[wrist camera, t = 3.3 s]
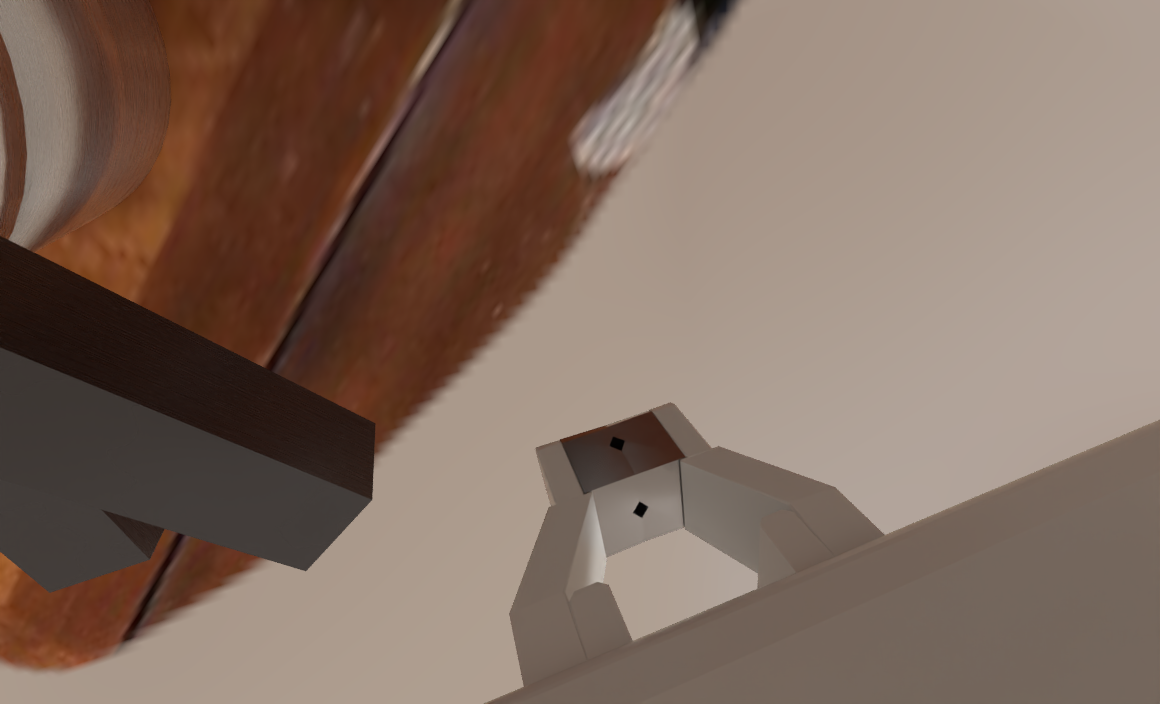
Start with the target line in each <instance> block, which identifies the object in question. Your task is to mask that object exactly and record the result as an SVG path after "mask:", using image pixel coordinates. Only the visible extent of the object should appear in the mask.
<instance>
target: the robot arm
mask: <svg viewBox="0 0 1160 704" xmlns="http://www.w3.org/2000/svg"><path fill="white" fill-rule="evenodd" d="M536 454H537V458H538V462H539V465H540V469H541V472H542V476H543V480H544V484H545V487H546V491H547V494H548V498H549V501H550V504H551V507H549V508H548V511H547V514H546V516H545V519H544V522H543V524H542V527H541V530H540V532H539V535H538V538H537V540H536V543H535V546H534V549H533V551H532V554H531V557H530V560H529V562H528V565H527V567H526V570H525V573H524V576H523V578H522V581H521V584H520V586H519V589H518V592H517V594H516V597H515V600H514V603H513V605H512V608H511V611H510V613H509V615H510V620H511V625H512V630H513V635H514V640H515V645H516V650H517V654H518V660H519V665H520V669H521V675H522V680H523V684H524V687H522V688H520V689H518V690H515V691H513V692H511V693H508V694H506V695H503V696H501V697H499V698H496V699H494V700H491V701H489V702H487V703H484V704H1160V420H1158V421H1155V422H1153V423H1151V424H1148V425H1146V426H1143V427H1141V428H1139V429H1137V430H1134V431H1132V432H1129V433H1127V434H1124V435H1122V436H1120V437H1117V438H1115V439H1113V440H1110V441H1108V442H1105V443H1103V444H1101V445H1099V446H1096V447H1094V448H1091V449H1089V450H1086V451H1084V452H1082V453H1079V454H1077V455H1074V456H1072V457H1070V458H1067V459H1065V460H1063V461H1060V462H1058V463H1055V464H1053V465H1051V466H1048V467H1046V468H1043V469H1041V470H1039V471H1036V472H1034V473H1032V474H1029V475H1027V476H1025V477H1022V478H1020V479H1017V480H1015V481H1013V482H1010V483H1008V484H1006V485H1003V486H1001V487H998V488H996V489H994V490H991V491H989V492H986V493H984V494H982V495H979V496H977V497H974V498H972V499H970V500H967V501H965V502H962V503H960V504H958V505H955V506H953V507H951V508H948V509H946V510H943V511H941V512H939V513H937V514H934V515H932V516H929V517H927V518H925V519H922V520H920V521H917V522H915V523H912V524H910V525H908V526H906V527H903V528H901V529H898V530H896V531H893V532H891V533H889V534H887V535H884V534H883V533H882V532H881V531H880V530H879V529H878V528H877V527H876V526H875V525H874V524H873V523H872V522H871V521H870V520H869V519H868V518H867V517H865V516H864V515H863V514H862V513H861V512H860V511H859V510H858V509H857V508H856V507H855V506H854V505H853V504H852V503H851V502H850V501H849V500H848V499H847V498H846V497H845V496H843V494H841V493H840V492H839V491H838V490H837V489H836V488H835V487H833V486H830V485H827V484H824V483H822V482H819V481H816V480H813V479H810V478H807V477H804V476H801V475H799V474H796V473H793V472H790V471H787V470H784V469H782V468H779V467H776V466H773V465H770V464H768V463H765V462H762V461H759V460H756V459H753V458H751V457H748V456H745V455H742V454H739V453H736V452H733V451H731V450H728V449H725V448H722V447H719V446H718V447H715V448H711V447H710V445H709V444H708V443H707V442H706V441H705V440H704V438H703V437H702V436H701V435H700V434H699V432H698V431H697V430H696V429H695V428H694V427H693V425H692V424H691V423H690V422H689V420H688V419H687V418H686V417H685V416H684V415H683V413H682V412H681V411H680V410H679V409H678V407H677V406H676V405H675V404H673V403H668V404H664V405H662V406H659V407H656V408H653V409H651V410H649V411H646V412H643V413H641V414H638V415H635V416H632V417H629V418H626V419H623V420H620V421H617V422H614V423H612V424H608V425H606V426H603V427H599V428H596V429H593V430H589V431H586V432H583V433H580V434H577V435H573V436H570V437H567V438H564V439H560V441H556V442H552V443H549V444H546V445H543V446H540V447H536ZM684 527H685V530H687V531H689V532H690V533H692V534H694V535H695V536H697V537H699V538H700V539H702V540H704V541H705V542H707V543H709V544H710V545H712V546H714V547H715V548H717V549H718V550H720V551H722V552H723V553H725V554H727V555H728V556H730V557H732V558H733V559H735V560H737V561H738V562H740V563H742V564H744V565H745V566H747V567H748V568H750V569H752V570H753V571H755V572H757V573H758V589H756V590H754V591H751V592H749V593H746V594H745V595H742V596H740V597H737V598H734V599H732V600H730V601H727V602H725V603H723V604H720V605H718V606H715V607H713V608H711V609H708V610H706V611H703V612H701V613H699V614H697V615H694V616H692V617H689V618H687V619H684V620H682V621H680V622H677V623H675V624H672V625H670V626H668V627H665V628H663V629H661V630H658V631H656V632H653V633H651V634H649V635H646V636H644V637H642V638H639V639H637V640H635V641H632V638H631V636H630V634H629V632H628V629H627V627H626V624H625V622H624V620H623V617H622V615H621V613H620V610H619V608H618V606H617V603H616V601H615V598H614V596H613V594H612V591H611V589H610V587H609V585H607V584H603V580H604V574H605V568H606V562H607V559H606V557H609V556H611V555H614V554H616V553H618V552H621V551H623V550H626V549H628V548H630V547H633V546H635V545H638V544H640V543H642V542H645V541H647V540H650V539H653V538H656V537H659V536H662V535H665V534H667V533H670V532H673V531H675V530H679V529H682V528H684Z"/></svg>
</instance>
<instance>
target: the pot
mask: <svg viewBox="0 0 1160 704" xmlns="http://www.w3.org/2000/svg"><path fill="white" fill-rule="evenodd" d="M0 33H1V35H2V38H3V40H4V43H5V46H6V48H7V51H8V53H9V56H10V58H11V62H12V66H13V70H14V74H15V78H16V82H17V86H18V90H19V94H20V98H21V102H22V106H23V113H24V124H25V135H26V146H27V163H26V174H25V186H24V196H23V199H22V202H21V206H20V209H19V213H18V216H17V220H16V223H15V226H14V230H13V232H12V234H11V236H10V238H9V240H10V241H12V242H14V243H16V244H18V245H20V246H22V247H24V248H26V249H28V250H30V251H32V252H36V251H38V250H40V249H42V248H43V247H45V246H47V245H49V244H51V243H52V242H54V241H56V240H58V239H60V238H62V237H63V236H65V235H67V234H69V233H71V232H72V231H74V230H76V229H78V228H80V227H81V226H83V225H85V224H87V223H89V222H90V221H92V220H94V219H96V218H98V217H99V216H101V215H103V214H104V213H106V212H107V211H109V210H110V209H112V208H114V207H115V206H117V205H118V204H120V203H121V202H122V201H123V200H124V199H125V198H127V197H128V196H129V195H130V194H131V193H132V192H133V191H134V190H135V189H136V188H137V187H138V186H139V185H140V183H141V182H142V181H143V180H144V178H145V177H146V176H147V174H148V173H149V172H150V170H151V169H152V167H153V165H154V163H155V161H156V159H157V157H158V155H159V153H160V151H161V148H162V145H163V142H164V138H165V135H166V131H167V128H168V122H169V113H170V105H171V93H170V73H169V67H168V62H167V56H166V51H165V45H164V42H163V39H162V36H161V33H160V29H159V26H158V23H157V20H156V16H155V14H154V12H153V9H152V7H151V5H150V2H149V0H0ZM163 531H164V528H161V527H158V526H154V525H151V524H148V523H144V522H141V521H138V520H134V519H131V518H128V517H124V516H121V515H118V514H114V513H111V512H108V511H104V510H101V509H98V508H94V507H91V506H88V505H84V504H81V503H78V502H74V501H71V500H68V499H64V498H61V497H58V496H54V495H51V494H48V493H44V492H41V491H38V490H34V489H31V488H28V487H25V486H21V485H18V484H15V483H11V482H8V481H5V480H1V479H0V552H1V553H3V554H4V555H5V556H6V557H7V558H9V559H10V560H11V561H12V562H13V563H15V564H16V565H17V566H18V567H19V568H21V569H22V570H23V571H24V572H25V573H27V574H28V575H29V576H30V577H31V578H33V579H34V580H35V581H36V582H37V583H39V584H40V585H41V586H42V587H43V588H45V589H46V590H47V591H48V592H53V591H56V590H59V589H62V588H65V587H68V586H71V585H74V584H77V583H80V582H83V581H86V580H89V579H92V578H95V577H98V576H101V575H104V574H107V573H110V572H114V571H117V570H120V569H123V568H126V567H129V566H132V565H135V564H138V563H141V562H144V561H147V560H150V558H151V556H152V554H153V552H154V550H155V547H156V545H157V543H158V541H159V539H160V537H161V535H162V533H163Z"/></svg>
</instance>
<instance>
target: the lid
mask: <svg viewBox="0 0 1160 704" xmlns="http://www.w3.org/2000/svg"><path fill="white" fill-rule="evenodd" d="M26 163H27V146H26V135H25V124H24V113H23V106H22V102H21V98H20V94H19V90H18V86H17V82H16V78H15V74H14V70H13V66H12V62H11V58H10V56H9V53H8V51H7V48H6V46H5V43H4V40H3V38H2V35H1V33H0V479H1V480H5V481H8V482H11V483H15V484H18V485H21V486H25V487H28V488H31V489H34V490H38V491H41V492H44V493H48V494H51V495H54V496H58V497H61V498H64V499H68V500H71V501H74V502H78V503H81V504H84V505H88V506H91V507H94V508H98V509H101V510H104V511H108V512H111V513H114V514H118V515H121V516H124V517H128V518H131V519H134V520H138V521H141V522H144V523H148V524H151V525H154V526H158V527H161V528H164V529H167V530H171V531H174V532H177V533H181V534H184V535H187V536H191V537H194V538H197V539H201V540H204V541H207V542H211V543H214V544H217V545H221V546H224V547H227V548H231V549H234V550H237V551H241V552H244V553H247V554H251V555H254V556H257V557H261V558H264V559H267V560H271V561H274V562H277V563H281V564H284V565H287V566H291V567H294V568H297V569H300V570H304V571H306V570H308V568H309V567H310V566H311V565H312V564H313V563H314V562H315V561H316V560H317V559H318V558H319V557H320V555H321V554H322V553H323V552H324V551H325V550H326V549H327V548H328V547H329V546H330V545H331V544H332V543H333V541H334V540H335V539H336V538H337V537H338V536H339V535H340V534H341V533H342V532H343V531H344V530H345V528H346V527H347V526H348V525H349V524H350V523H351V522H352V521H353V520H354V519H355V518H356V517H357V516H358V514H359V513H360V512H361V511H362V510H363V509H364V508H365V507H366V506H367V505H368V504H369V503H370V501H371V500H372V492H373V468H374V443H375V423H373V422H371V421H369V420H367V419H365V418H363V417H361V416H359V415H357V414H355V413H353V412H351V411H349V410H347V409H345V408H343V407H341V406H339V405H337V404H335V403H333V402H331V401H329V400H327V399H325V398H323V397H321V396H319V395H317V394H315V393H313V392H311V391H309V390H307V389H305V388H303V387H301V386H299V385H297V384H295V383H293V382H291V381H289V380H287V379H285V378H283V377H281V376H279V375H277V374H275V373H273V372H271V371H269V370H267V369H265V368H263V367H261V366H259V365H257V364H255V363H254V362H252V361H250V360H248V359H246V358H244V357H242V356H240V355H238V354H236V353H234V352H232V351H230V350H228V349H226V348H224V347H222V346H220V345H218V344H216V343H214V342H212V341H210V340H208V339H206V338H204V337H202V336H200V335H198V334H196V333H194V332H192V331H190V330H188V329H186V328H184V327H182V326H180V325H178V324H176V323H174V322H172V321H170V320H168V319H166V318H164V317H162V316H160V315H158V314H156V313H154V312H152V311H150V310H148V309H146V308H144V307H142V306H140V305H138V304H136V303H134V302H132V301H130V300H128V299H126V298H124V297H122V296H120V295H118V294H116V293H114V292H112V291H110V290H108V289H106V288H104V287H102V286H100V285H98V284H96V283H94V282H92V281H90V280H88V279H86V278H84V277H82V276H80V275H78V274H76V273H74V272H72V271H70V270H68V269H66V268H64V267H62V266H60V265H58V264H56V263H54V262H52V261H50V260H48V259H46V258H44V257H42V256H40V255H38V254H36V253H34V252H32V251H30V250H28V249H26V248H24V247H22V246H20V245H18V244H16V243H14V242H12V241H10V240H9V238H10V236H11V234H12V232H13V230H14V226H15V223H16V220H17V216H18V213H19V209H20V206H21V202H22V199H23V196H24V186H25V174H26Z"/></svg>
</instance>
